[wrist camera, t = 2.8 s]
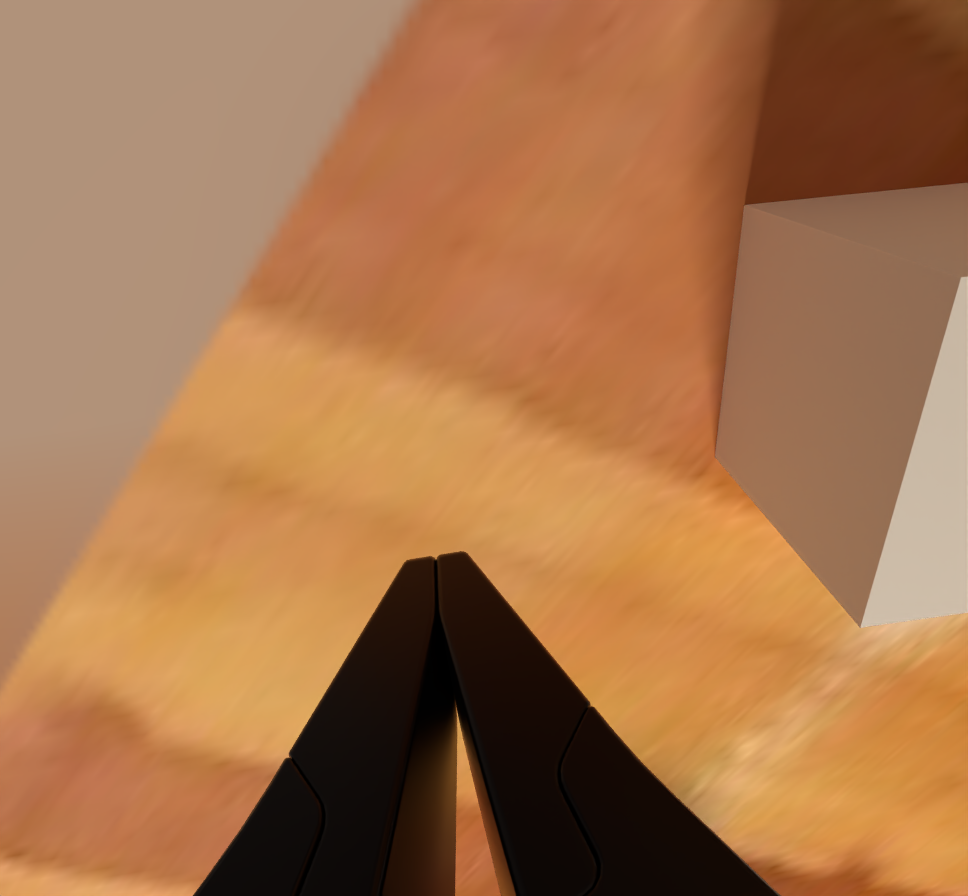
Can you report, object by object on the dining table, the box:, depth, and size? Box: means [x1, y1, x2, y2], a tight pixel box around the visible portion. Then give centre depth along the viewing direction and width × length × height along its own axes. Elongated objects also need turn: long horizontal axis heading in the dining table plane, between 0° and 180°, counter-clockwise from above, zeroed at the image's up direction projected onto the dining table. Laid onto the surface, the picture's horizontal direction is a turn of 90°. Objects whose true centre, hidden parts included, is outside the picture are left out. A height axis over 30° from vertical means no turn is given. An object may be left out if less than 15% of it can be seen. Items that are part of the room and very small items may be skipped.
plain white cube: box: [715, 183, 968, 628], centre depth 12 cm, size 6×6×6 cm
